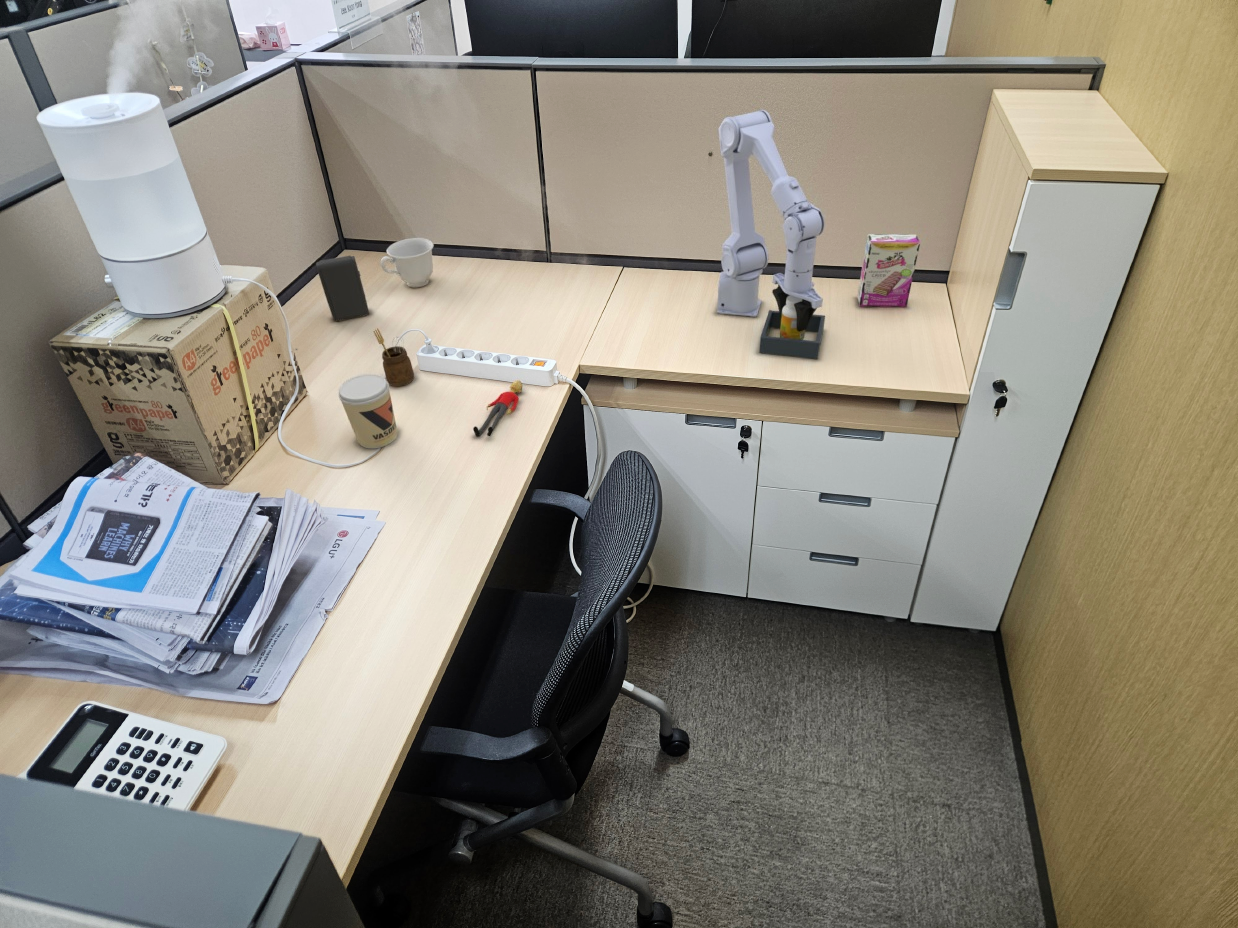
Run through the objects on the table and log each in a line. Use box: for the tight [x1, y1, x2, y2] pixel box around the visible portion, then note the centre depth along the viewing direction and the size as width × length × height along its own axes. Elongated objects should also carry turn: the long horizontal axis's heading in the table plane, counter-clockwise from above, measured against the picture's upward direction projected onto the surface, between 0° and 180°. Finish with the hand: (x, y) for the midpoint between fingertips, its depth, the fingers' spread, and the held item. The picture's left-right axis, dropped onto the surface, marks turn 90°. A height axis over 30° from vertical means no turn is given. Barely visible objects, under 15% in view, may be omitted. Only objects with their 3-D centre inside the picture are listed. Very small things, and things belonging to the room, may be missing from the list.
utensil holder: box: [373, 327, 415, 387], centre depth 169 cm, size 6×6×12 cm
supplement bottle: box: [779, 295, 806, 340], centre depth 174 cm, size 5×5×10 cm
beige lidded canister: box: [338, 373, 398, 449], centre depth 153 cm, size 9×9×12 cm
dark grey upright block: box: [315, 255, 370, 322], centre depth 193 cm, size 9×4×15 cm, turn 108°
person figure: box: [472, 379, 523, 438], centre depth 160 cm, size 5×4×18 cm
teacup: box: [380, 237, 435, 288], centre depth 207 cm, size 12×15×10 cm
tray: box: [758, 309, 826, 360], centre depth 176 cm, size 13×13×4 cm
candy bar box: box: [856, 233, 921, 308], centre depth 184 cm, size 11×5×16 cm, turn 84°
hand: (793, 324), depth 175 cm, fingers closed on supplement bottle, 5 cm apart
